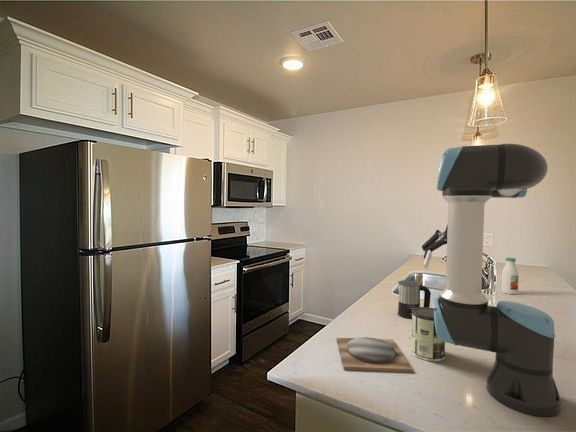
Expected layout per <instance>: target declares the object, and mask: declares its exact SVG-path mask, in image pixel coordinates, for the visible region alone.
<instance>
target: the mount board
mask: <svg viewBox="0 0 576 432" xmlns="http://www.w3.org/2000/svg"><path fill="white" fill-rule="evenodd" d="M336 343H337V344H336V345H337V347H338V352H339V353H338V354H339V355H340V360H341V364H342V368H343V370H344V371H365V372H369V371H371V372H392V373H393V372H394V373H413V371H414V370H413V367H412V366H411V364H410V363H409V361H408V359H406V356H404V354H403V352H402V351H401V349H400V348H399V347H398V345H397V343H396V342H395V340H394V339H392V338H391V339H390V338H389V339H387V338H375V337H367V336H364V337H336Z"/></svg>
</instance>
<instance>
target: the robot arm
mask: <svg viewBox="0 0 576 432" xmlns="http://www.w3.org/2000/svg"><path fill="white" fill-rule="evenodd" d="M438 167H439V168H438V174H437V182H436V190H437V191H440V192H441V193H442V195H441V196H442V198H443V199H444V200H445V202H447V205H448V206H447V224H446V227H445V230H444V231H440V230H439V229H436V231H435V232H434V234H433V235H432V236H431V237H429V239H427V240H426V241H425V242H424V243H423V244H422V245H421V248H422V251H423V252H424V254H423V259H424V261H423V266H424V268H425V269H428V268H429V265H430V261H431V258H432V255H433V252H434V251H436V250H437V249H439V248H441V247H442V246H444V245H446V262H445V263H446V264H445V265H446V267H445V274H446V275H445V288H444V289H442V290H441V291H440V292H439V295H438V296H439V297H437V298H434V299H433V303H432V304H433V307H432V308H434V322H435V329H436V334H437V336H438V338H439V339H440V340H441V341H443V342H445V343H447V344H450V345H451V344H452V345H453V346H458V347H459V346H460V347H465V348H471V349H476V350H481V351H485V352H490V353H491V352H492V353H495V360H494V363H493V365H492V367H491V369H490V371H489V373H488V375H487V378H486V390H487V392H488V393H489V395H490V396H492V397H493V398H494V399H496V401H498V402H499V403H501V404H503V405H504V406H505V407H506V406H507V407H509V408H511V409H512V410H516V411H519V412H522V413H523V414H528V415H532V416H536V417H537V416H538V417H554V416H557V415H558V414H560V413H561V411H562V399H561V397H560V393H559V391H558V388H557V385H556V382H555V378H554V376H553V374H554V372H553V371H554V370H553V369H554V350H555V348H554V347H555V338H556V333H555V322H554V319H553V318H552V316H550V315H549V314H548V313H546V312H545V311H543V310H540V309H538V308H536V307H533V306H530V305H528V304H524V303H520V302H517V301H508V300H500V301H498V302H497V304H496V306H494V305H488V304H489V299H488V298H487V297H486V295H484V294H483V291H482V287H483V286H482V284H483V257H484V256H483V255H484V230H485V205H486V203H487V202H488V201H489V200H490V199H492V198H497V199H499V198H501V199H502V198H503V199H504V198H507V199H509V198H510V199H517V198H524V197H526V195H527V192H528V189H531V188H533V187H536V186H537V185H539V184H540V183H541V182H542V181H543V180H544V179H545V177H546V175H547V173H548V169H549V168H548V163H547V160H546V159H545V157H544V156H543V155H542V154H541V153H540V152H539V151H537V150H536V149H534V148H532V147H530V146H527V145H523V144H520V143H519V144H518V143H501V144H500V143H499V144H482V145H464V146H463V145H462V146H456V147H451V148H447V149H445V150H444V151H443V153H442V155H441V159H440V163H439V166H438Z"/></svg>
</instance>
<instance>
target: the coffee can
mask: <svg viewBox="0 0 576 432" xmlns="http://www.w3.org/2000/svg"><path fill="white" fill-rule="evenodd" d="M410 351H411V353H412V355H413V356H414V357H416V358H418V359H420V360H422V361H427V362H434V363H435V362H442V361H444V360H445V359H446V342H443V341H441V340H440V339H439V338H438V336H437V334H436V329H435V322H434V307H429V308H428V307H424V306H420V307H416V308H413V309H412V319H411V350H410Z"/></svg>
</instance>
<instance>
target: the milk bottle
mask: <svg viewBox="0 0 576 432" xmlns="http://www.w3.org/2000/svg"><path fill="white" fill-rule="evenodd" d="M516 260H517V259H516V258H515V257H506V258H505V265H504V267H503V269H502V271H501V287H500V289H501V293H503V294H506V293H507V294H506V295H512V294H516V295H518V294H519V270H518V268H517V266H516V262H517V261H516Z"/></svg>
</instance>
